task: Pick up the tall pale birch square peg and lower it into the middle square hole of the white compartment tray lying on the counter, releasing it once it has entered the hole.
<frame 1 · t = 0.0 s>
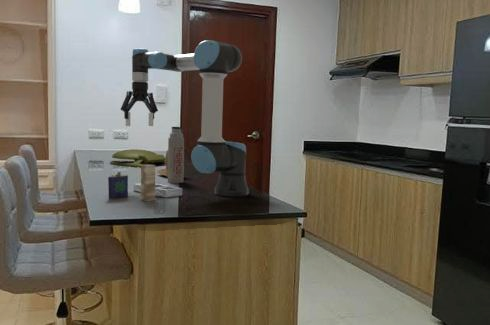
hand: (139, 126, 225), 28 cm above the countertop, fingers open, 13 cm apart
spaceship: (138, 164, 310), on the countertop
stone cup: (171, 176, 256), on the countertop
white compartment tray: (157, 192, 203), on the countertop
flask: (118, 198, 189), on the countertop
thermos bottle: (175, 182, 237), on the countertop
birch peg: (147, 199, 186), on the countertop
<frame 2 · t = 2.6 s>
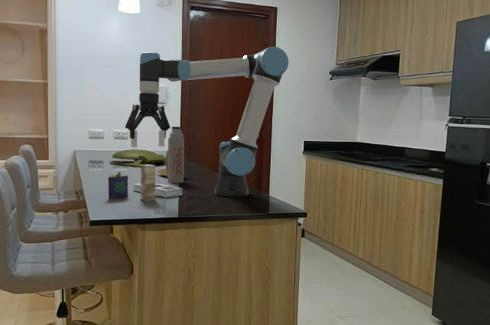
hand: (148, 146, 184), 21 cm above the countertop, fingers open, 13 cm apart
nothing on the countertop moved.
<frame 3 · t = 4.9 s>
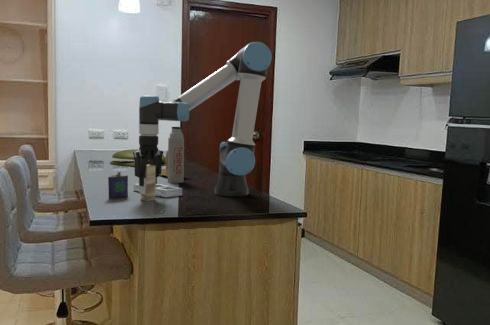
hand: (147, 193, 186), 3 cm above the countertop, fingers closed on birch peg, 4 cm apart
birch peg: (147, 199, 186), on the countertop, touching gripper
everything else where it was.
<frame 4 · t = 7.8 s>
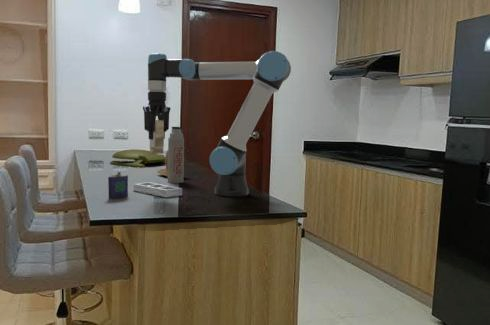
hand: (156, 146, 197), 20 cm above the countertop, fingers closed on birch peg, 4 cm apart
birch peg: (156, 153, 197), point 18 cm above the countertop, touching gripper
everything else where it was.
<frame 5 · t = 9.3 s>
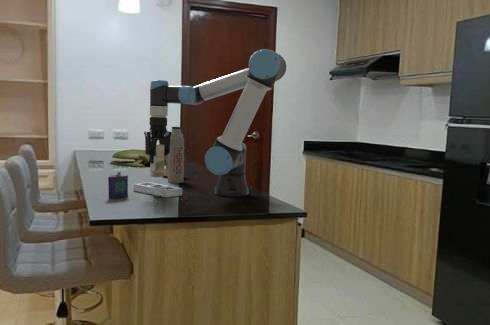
hand: (157, 170, 202), 10 cm above the countertop, fingers closed on birch peg, 4 cm apart
birch peg: (157, 176, 202), point 7 cm above the countertop, touching gripper
everything else where it was.
when the fingers open (5 cm above the countertop, at t = 10.6 s): birch peg drops 2 cm, resting in white compartment tray.
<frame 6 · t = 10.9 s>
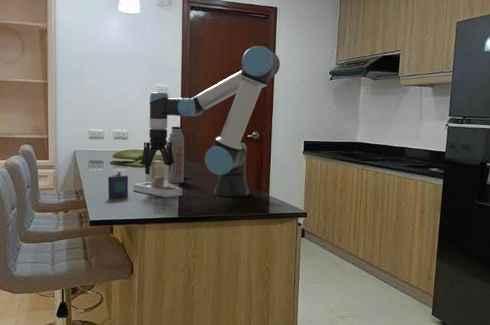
hand: (157, 180, 202), 5 cm above the countertop, fingers open, 9 cm apart
birch peg: (157, 192, 203), resting in white compartment tray
everything else where it was.
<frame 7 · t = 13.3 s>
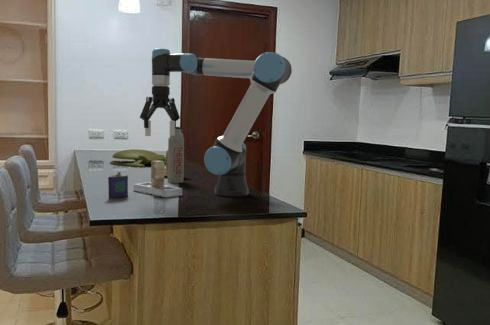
hand: (160, 135, 201), 25 cm above the countertop, fingers open, 13 cm apart
nothing on the countertop moved.
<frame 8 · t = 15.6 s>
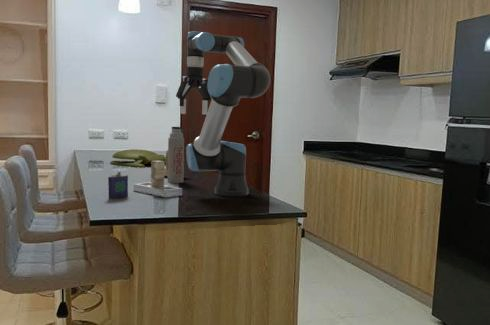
hand: (194, 114, 212), 35 cm above the countertop, fingers open, 13 cm apart
nothing on the countertop moved.
at the end: birch peg 0.0 cm off-centre on the white compartment tray, point 0.0 cm above the white compartment tray's base; birch peg tilted 0°; the gripper is holding nothing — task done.
